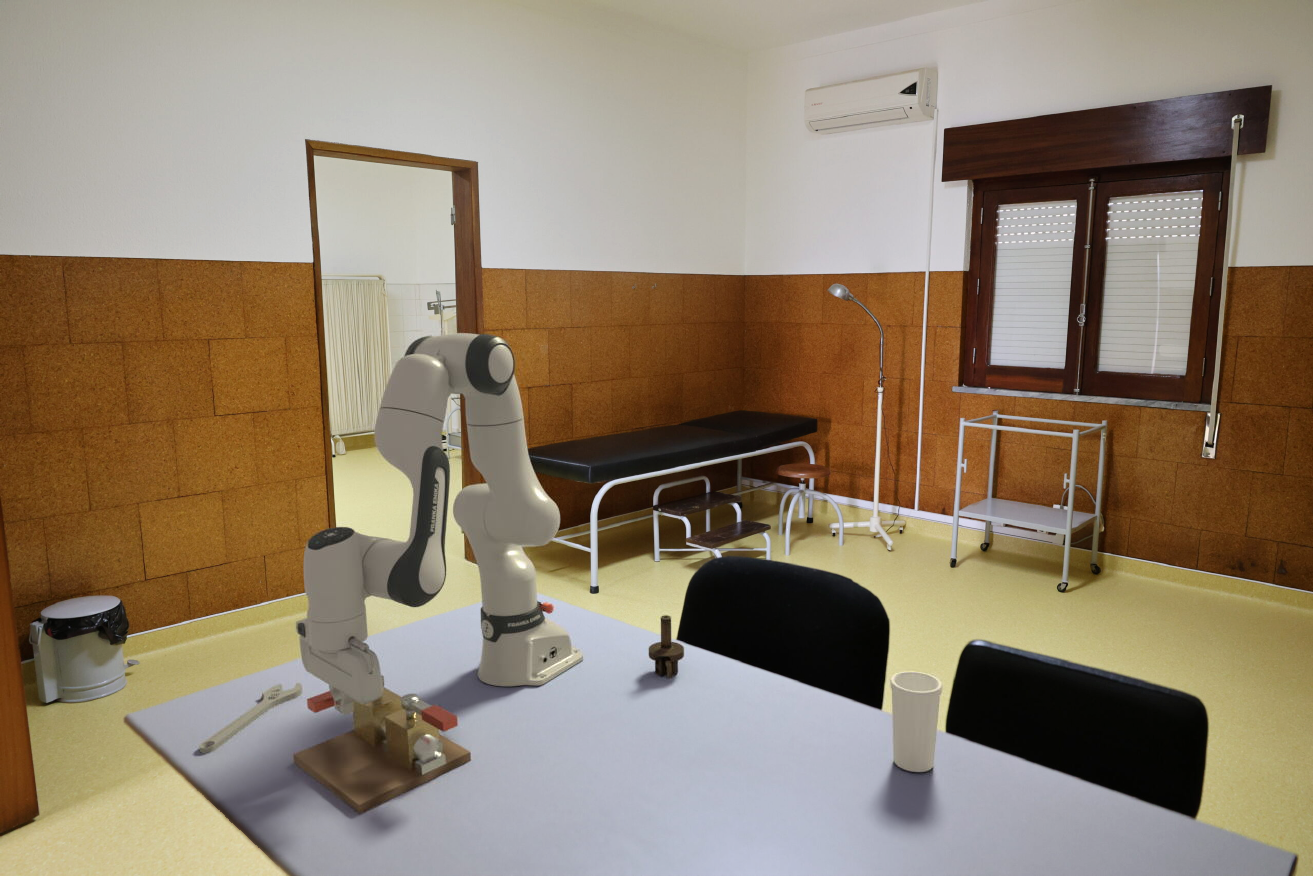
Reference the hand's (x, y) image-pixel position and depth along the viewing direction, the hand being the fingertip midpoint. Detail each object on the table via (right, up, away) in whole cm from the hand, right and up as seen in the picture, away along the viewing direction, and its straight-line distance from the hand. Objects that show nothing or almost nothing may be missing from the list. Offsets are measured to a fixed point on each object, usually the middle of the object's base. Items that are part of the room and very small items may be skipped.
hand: (344, 711), depth 139 cm
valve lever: (-1, +1, +5) cm, 5 cm away
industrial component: (+53, -4, +37) cm, 65 cm away
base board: (+5, -10, +4) cm, 12 cm away
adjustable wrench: (-25, -8, +21) cm, 34 cm away
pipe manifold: (+9, -8, +4) cm, 13 cm away
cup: (+93, -9, +1) cm, 93 cm away
